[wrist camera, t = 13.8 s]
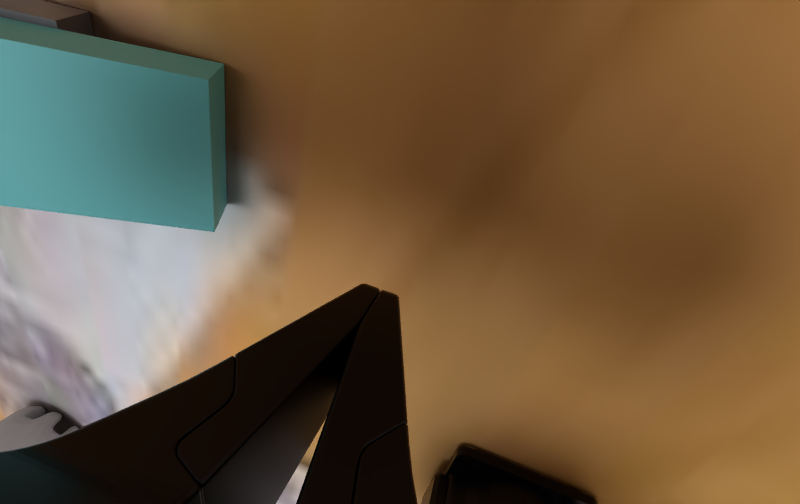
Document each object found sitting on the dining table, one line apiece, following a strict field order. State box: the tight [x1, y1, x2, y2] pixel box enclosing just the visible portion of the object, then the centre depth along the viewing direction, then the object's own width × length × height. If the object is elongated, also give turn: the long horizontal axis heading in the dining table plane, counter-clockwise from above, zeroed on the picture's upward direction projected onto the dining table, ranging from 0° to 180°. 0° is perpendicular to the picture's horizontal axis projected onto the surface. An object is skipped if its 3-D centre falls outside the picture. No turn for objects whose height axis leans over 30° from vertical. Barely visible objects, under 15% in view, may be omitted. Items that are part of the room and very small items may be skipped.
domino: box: [0, 17, 227, 232], centre depth 12 cm, size 2×5×7 cm
